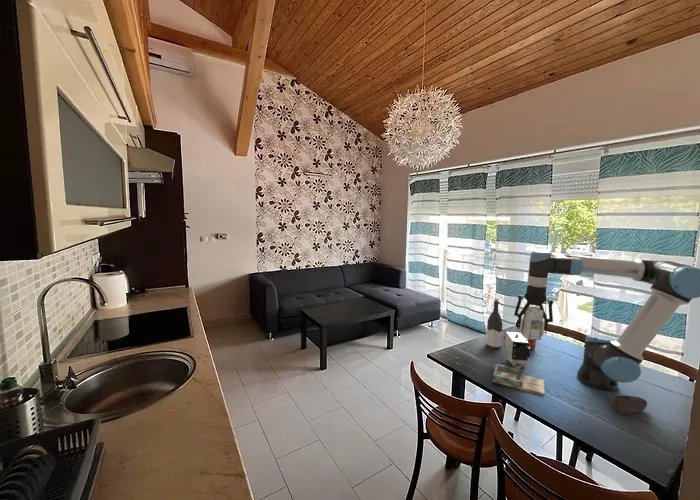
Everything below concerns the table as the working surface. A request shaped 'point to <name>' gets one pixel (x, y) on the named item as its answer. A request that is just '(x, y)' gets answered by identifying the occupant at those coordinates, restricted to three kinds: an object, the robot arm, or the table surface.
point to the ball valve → (516, 348)
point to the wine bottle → (494, 328)
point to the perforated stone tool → (629, 404)
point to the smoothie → (531, 344)
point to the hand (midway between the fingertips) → (531, 332)
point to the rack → (517, 379)
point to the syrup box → (532, 323)
